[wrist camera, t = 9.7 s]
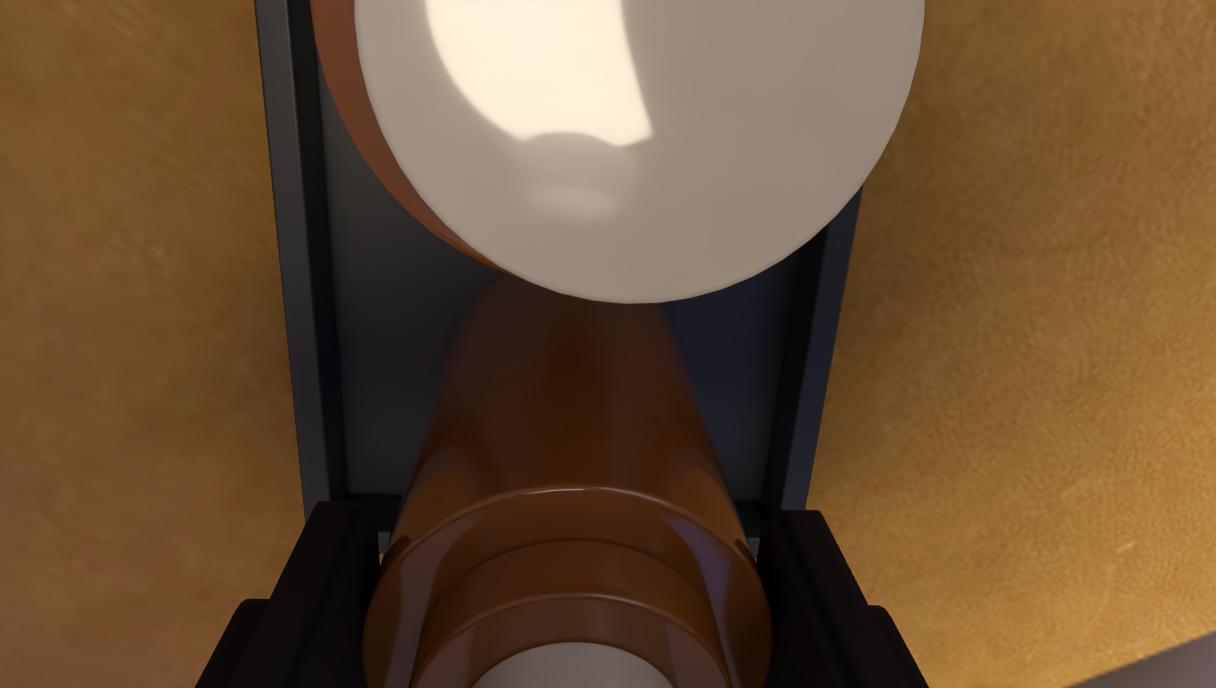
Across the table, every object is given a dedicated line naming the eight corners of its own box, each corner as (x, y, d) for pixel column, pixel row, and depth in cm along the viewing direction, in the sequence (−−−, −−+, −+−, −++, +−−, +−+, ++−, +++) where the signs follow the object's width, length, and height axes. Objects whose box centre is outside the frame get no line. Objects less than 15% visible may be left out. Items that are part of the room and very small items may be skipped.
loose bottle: (690, 261, 18) (962, 804, 6) (669, 468, 20) (837, 1190, 8) (447, 251, 17) (196, 810, 5) (451, 463, 19) (275, 1214, 7)
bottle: (728, -135, 15) (1435, -709, 3) (699, 154, 17) (1045, 530, 5) (439, -158, 14) (-137, -926, 2) (444, 141, 16) (135, 513, 4)
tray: (989, -804, 12) (1070, -957, 10) (775, 509, 21) (797, 560, 19) (214, -915, 11) (143, -1103, 9) (331, 500, 20) (307, 553, 18)
